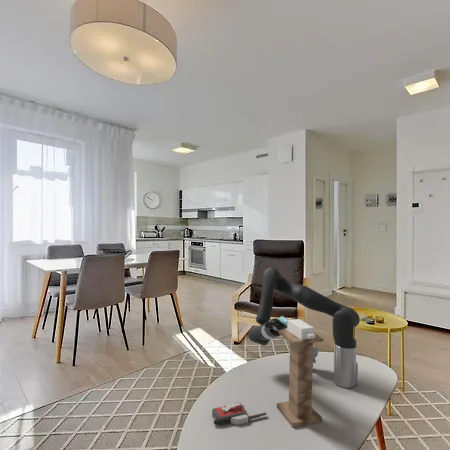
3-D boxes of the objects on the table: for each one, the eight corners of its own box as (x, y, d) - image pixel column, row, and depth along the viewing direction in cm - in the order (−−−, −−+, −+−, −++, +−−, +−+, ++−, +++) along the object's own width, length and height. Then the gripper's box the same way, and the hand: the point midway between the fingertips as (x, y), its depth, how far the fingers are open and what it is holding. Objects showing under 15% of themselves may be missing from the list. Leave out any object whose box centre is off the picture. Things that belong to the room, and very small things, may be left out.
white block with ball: (286, 321, 128) (286, 311, 128) (318, 341, 106) (318, 330, 106) (275, 322, 127) (275, 312, 126) (305, 343, 105) (306, 331, 105)
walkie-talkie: (216, 431, 103) (267, 419, 111) (216, 418, 103) (268, 407, 111) (208, 416, 112) (256, 405, 119) (208, 404, 112) (257, 394, 119)
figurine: (312, 364, 154) (312, 340, 154) (320, 371, 146) (321, 346, 146) (297, 366, 152) (298, 342, 151) (305, 373, 144) (306, 348, 144)
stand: (303, 402, 121) (305, 327, 120) (321, 421, 109) (323, 338, 109) (276, 407, 117) (278, 330, 117) (292, 427, 106) (294, 342, 105)
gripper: (256, 321, 135) (270, 312, 121) (284, 319, 139) (301, 310, 125) (259, 339, 131) (274, 332, 118) (288, 336, 135) (306, 328, 122)
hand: (288, 320), depth 121 cm, fingers open, 8 cm apart
